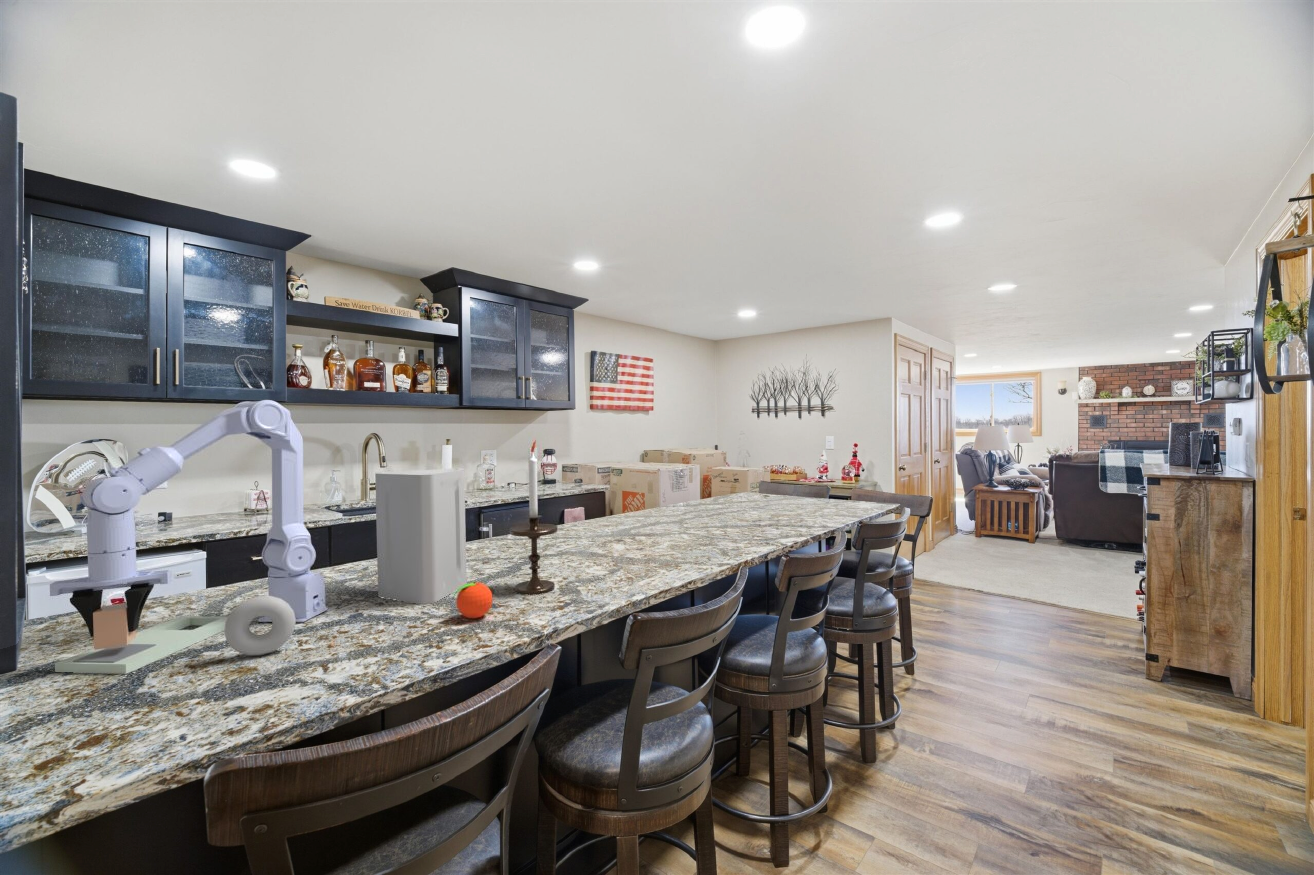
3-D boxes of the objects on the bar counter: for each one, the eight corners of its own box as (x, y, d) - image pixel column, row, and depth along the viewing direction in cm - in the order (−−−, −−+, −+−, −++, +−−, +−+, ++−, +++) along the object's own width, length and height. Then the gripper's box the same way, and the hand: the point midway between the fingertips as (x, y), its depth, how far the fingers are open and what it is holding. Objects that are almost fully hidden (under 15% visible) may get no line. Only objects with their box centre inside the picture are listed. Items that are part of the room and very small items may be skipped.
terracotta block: (136, 637, 96) (135, 602, 96) (127, 645, 93) (125, 608, 92) (104, 641, 94) (103, 605, 94) (94, 649, 91) (92, 612, 91)
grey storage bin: (379, 610, 118) (376, 476, 118) (378, 592, 131) (375, 472, 131) (474, 597, 127) (471, 472, 126) (464, 581, 140) (461, 468, 139)
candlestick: (557, 581, 139) (555, 438, 138) (559, 593, 128) (556, 439, 128) (511, 584, 137) (509, 439, 136) (510, 597, 126) (507, 440, 125)
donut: (222, 664, 92) (221, 603, 92) (227, 656, 95) (225, 597, 95) (295, 652, 97) (294, 594, 97) (297, 645, 100) (296, 589, 100)
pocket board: (238, 624, 111) (238, 615, 111) (126, 673, 89) (125, 663, 89) (180, 623, 112) (180, 615, 112) (55, 672, 90) (54, 661, 90)
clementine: (459, 627, 108) (459, 590, 108) (445, 618, 113) (445, 582, 113) (499, 617, 113) (498, 582, 113) (484, 609, 118) (483, 575, 118)
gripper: (176, 541, 100) (178, 617, 100) (63, 550, 93) (66, 632, 94) (163, 548, 94) (165, 630, 94) (41, 559, 87) (44, 646, 87)
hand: (114, 632), depth 93 cm, fingers closed on terracotta block, 4 cm apart
